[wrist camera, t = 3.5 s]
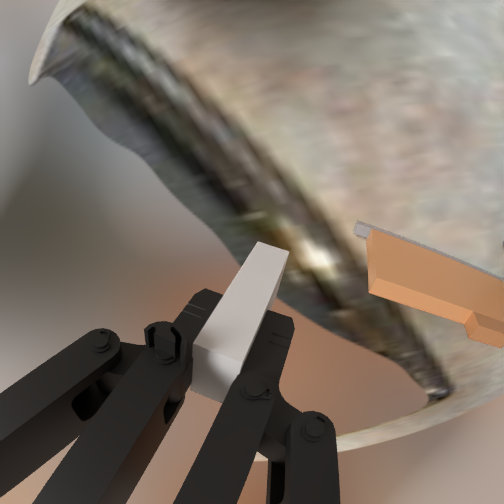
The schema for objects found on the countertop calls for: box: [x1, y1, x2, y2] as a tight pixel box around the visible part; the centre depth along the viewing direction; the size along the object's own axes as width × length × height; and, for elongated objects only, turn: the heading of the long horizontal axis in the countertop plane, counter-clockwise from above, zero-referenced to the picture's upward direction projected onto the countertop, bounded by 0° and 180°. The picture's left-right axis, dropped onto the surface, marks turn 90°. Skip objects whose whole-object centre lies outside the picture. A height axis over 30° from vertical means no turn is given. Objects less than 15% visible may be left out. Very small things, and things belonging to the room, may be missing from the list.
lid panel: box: [366, 229, 504, 348], centre depth 15 cm, size 1×16×7 cm, turn 80°
